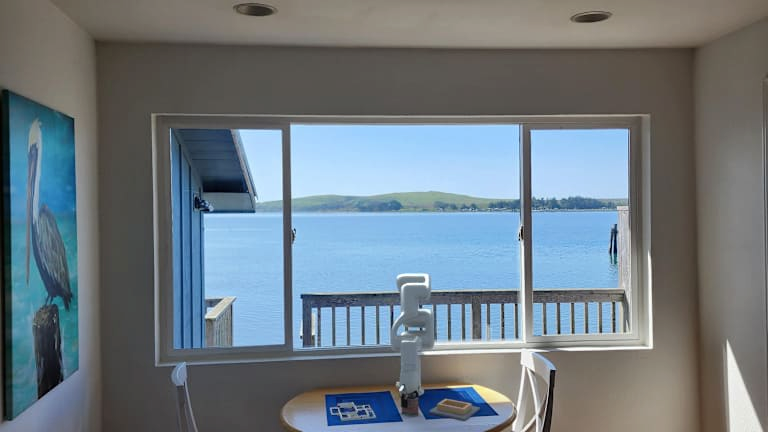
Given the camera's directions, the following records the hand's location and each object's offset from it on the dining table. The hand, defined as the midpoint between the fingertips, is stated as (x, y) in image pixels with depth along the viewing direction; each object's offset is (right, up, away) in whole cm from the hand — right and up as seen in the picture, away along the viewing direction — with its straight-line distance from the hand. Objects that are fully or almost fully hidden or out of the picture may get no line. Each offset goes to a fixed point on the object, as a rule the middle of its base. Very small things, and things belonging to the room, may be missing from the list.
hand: (409, 404), depth 266 cm
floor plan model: (-30, -6, +3) cm, 30 cm away
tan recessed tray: (+21, -4, +3) cm, 21 cm away
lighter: (0, -5, +1) cm, 5 cm away
